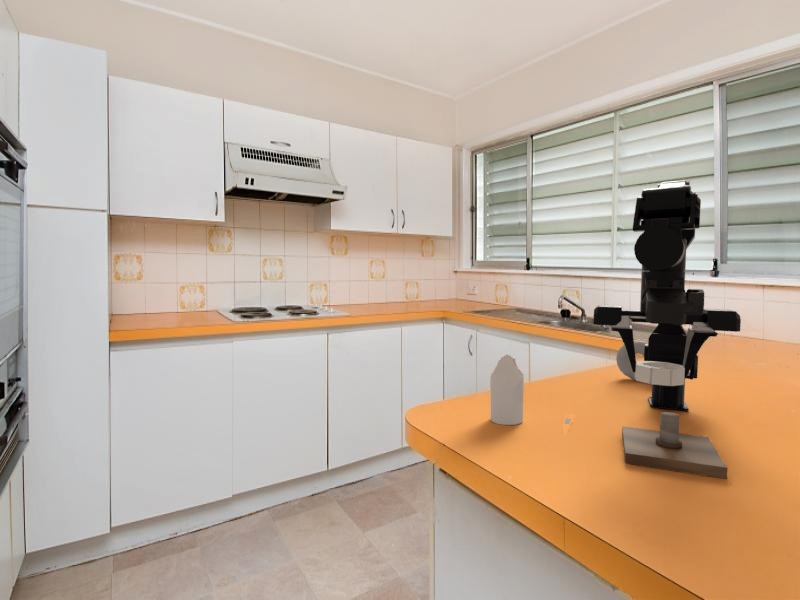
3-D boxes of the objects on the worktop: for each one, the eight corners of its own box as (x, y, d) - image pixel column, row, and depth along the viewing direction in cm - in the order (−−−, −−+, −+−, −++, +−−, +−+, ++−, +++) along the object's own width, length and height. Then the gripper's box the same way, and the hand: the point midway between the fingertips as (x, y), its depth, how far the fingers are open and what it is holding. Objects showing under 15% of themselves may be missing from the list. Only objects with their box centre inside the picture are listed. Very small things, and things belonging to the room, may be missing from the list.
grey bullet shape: (497, 358, 79) (486, 352, 85) (496, 426, 80) (485, 416, 86) (529, 357, 80) (516, 351, 86) (528, 424, 81) (515, 414, 87)
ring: (634, 374, 74) (634, 359, 74) (680, 378, 71) (680, 363, 71) (635, 382, 68) (636, 366, 68) (686, 387, 65) (686, 370, 65)
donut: (614, 379, 114) (615, 339, 114) (616, 376, 117) (617, 337, 116) (660, 384, 109) (662, 342, 108) (661, 381, 112) (663, 340, 111)
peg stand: (621, 435, 76) (623, 399, 75) (707, 446, 71) (709, 408, 71) (625, 463, 65) (626, 421, 64) (726, 478, 60) (729, 434, 60)
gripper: (593, 270, 65) (590, 378, 66) (754, 270, 58) (748, 393, 58) (596, 271, 76) (593, 365, 76) (733, 271, 68) (728, 376, 69)
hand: (658, 374), depth 70 cm, fingers closed on ring, 6 cm apart
